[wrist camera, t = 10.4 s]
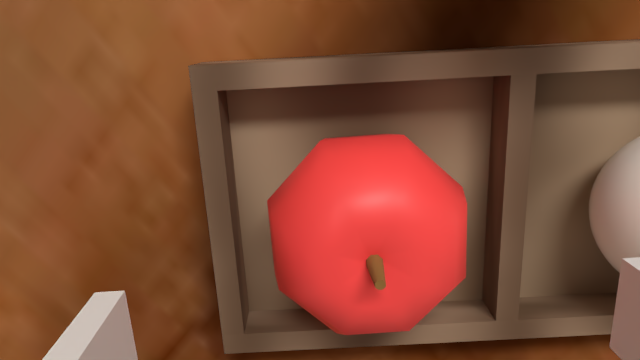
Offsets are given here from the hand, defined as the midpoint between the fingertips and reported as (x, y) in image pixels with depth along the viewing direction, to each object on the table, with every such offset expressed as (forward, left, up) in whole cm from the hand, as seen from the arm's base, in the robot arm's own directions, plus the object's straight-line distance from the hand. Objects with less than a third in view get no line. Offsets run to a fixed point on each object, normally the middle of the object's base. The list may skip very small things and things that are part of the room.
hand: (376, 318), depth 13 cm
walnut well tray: (+7, 0, -10) cm, 13 cm away
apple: (0, 0, -10) cm, 10 cm away
